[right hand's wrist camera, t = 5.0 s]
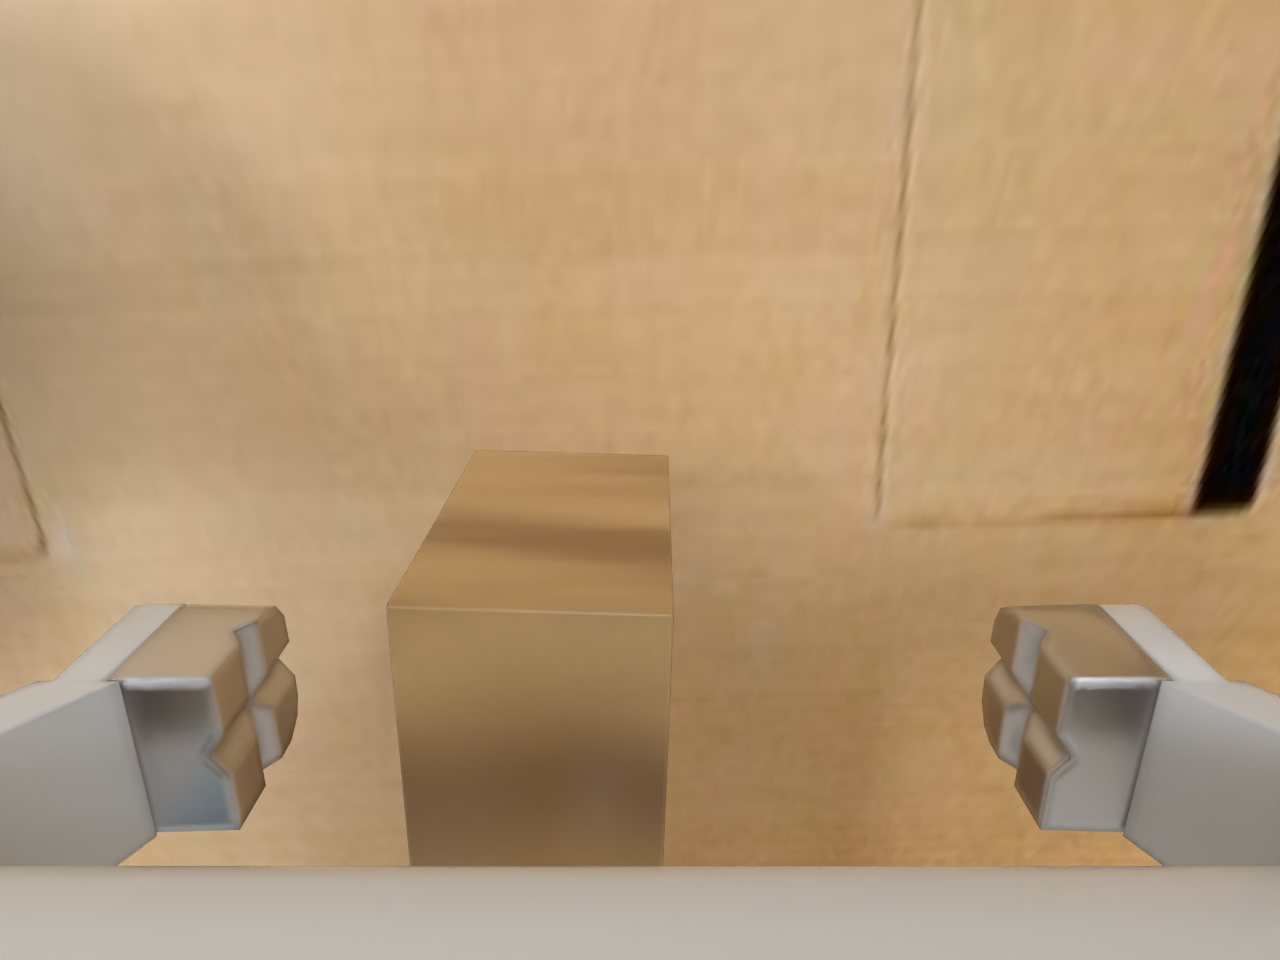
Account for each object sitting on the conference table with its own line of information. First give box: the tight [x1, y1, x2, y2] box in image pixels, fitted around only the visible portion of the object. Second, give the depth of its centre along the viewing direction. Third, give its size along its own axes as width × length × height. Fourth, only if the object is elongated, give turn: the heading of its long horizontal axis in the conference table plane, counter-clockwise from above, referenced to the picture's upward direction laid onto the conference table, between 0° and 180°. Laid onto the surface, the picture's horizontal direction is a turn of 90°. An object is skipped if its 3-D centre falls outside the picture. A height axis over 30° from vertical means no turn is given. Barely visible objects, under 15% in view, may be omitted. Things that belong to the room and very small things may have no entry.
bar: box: [386, 450, 674, 866], centre depth 26 cm, size 26×6×9 cm, turn 179°
